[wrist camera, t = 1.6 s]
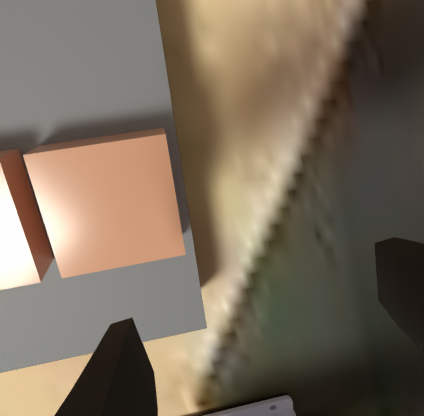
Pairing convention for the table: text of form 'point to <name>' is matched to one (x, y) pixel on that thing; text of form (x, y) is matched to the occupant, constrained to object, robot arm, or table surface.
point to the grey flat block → (83, 129)
